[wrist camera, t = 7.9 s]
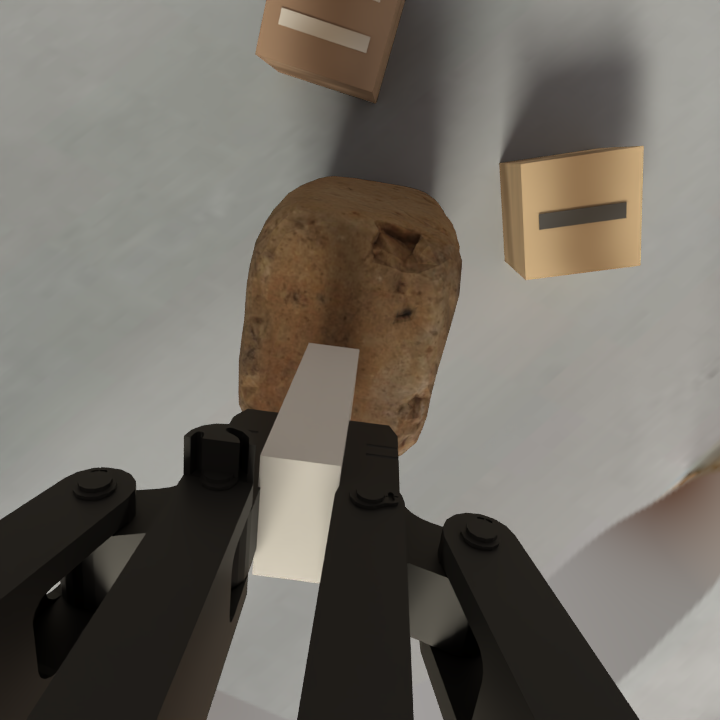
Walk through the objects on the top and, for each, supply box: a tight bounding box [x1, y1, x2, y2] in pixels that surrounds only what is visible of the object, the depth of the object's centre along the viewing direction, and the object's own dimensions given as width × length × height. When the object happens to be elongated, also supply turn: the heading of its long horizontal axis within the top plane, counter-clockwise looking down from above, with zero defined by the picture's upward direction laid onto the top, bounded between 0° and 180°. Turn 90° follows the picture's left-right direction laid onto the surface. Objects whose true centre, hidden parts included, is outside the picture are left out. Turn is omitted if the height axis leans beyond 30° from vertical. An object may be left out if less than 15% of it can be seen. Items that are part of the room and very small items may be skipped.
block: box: [239, 176, 462, 456], centre depth 27 cm, size 11×8×20 cm
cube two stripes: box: [255, 0, 405, 104], centre depth 29 cm, size 6×6×6 cm
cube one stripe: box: [499, 146, 644, 280], centre depth 31 cm, size 6×6×6 cm
